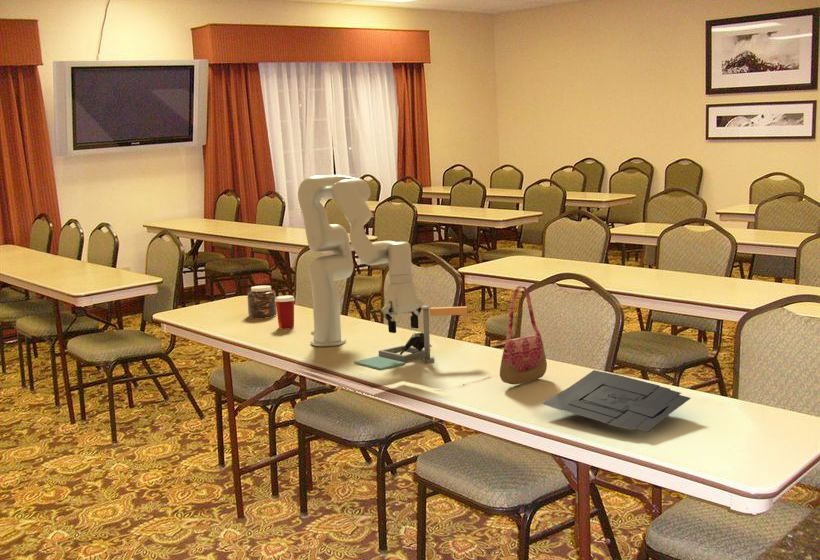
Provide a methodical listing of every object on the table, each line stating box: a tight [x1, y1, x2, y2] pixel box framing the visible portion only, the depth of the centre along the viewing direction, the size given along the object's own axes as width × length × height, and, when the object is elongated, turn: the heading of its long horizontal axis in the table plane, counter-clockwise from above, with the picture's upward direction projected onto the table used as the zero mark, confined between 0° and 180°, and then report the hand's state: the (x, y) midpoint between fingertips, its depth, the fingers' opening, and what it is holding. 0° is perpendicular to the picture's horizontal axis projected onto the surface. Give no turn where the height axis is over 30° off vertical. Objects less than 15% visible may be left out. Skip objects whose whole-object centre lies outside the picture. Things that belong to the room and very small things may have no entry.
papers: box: [541, 369, 692, 432], centre depth 221 cm, size 24×30×4 cm
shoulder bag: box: [499, 285, 548, 385], centre depth 250 cm, size 17×3×28 cm, turn 128°
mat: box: [353, 355, 406, 371], centre depth 281 cm, size 14×10×1 cm
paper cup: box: [275, 295, 295, 330], centre depth 340 cm, size 8×8×14 cm
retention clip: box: [422, 305, 469, 322], centre depth 279 cm, size 15×3×5 cm, turn 90°
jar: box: [247, 285, 277, 319], centre depth 363 cm, size 12×12×15 cm
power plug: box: [399, 331, 433, 355], centre depth 288 cm, size 6×8×12 cm
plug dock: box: [378, 308, 435, 364], centre depth 286 cm, size 20×11×18 cm, turn 41°
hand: (403, 330), depth 288 cm, fingers open, 9 cm apart
